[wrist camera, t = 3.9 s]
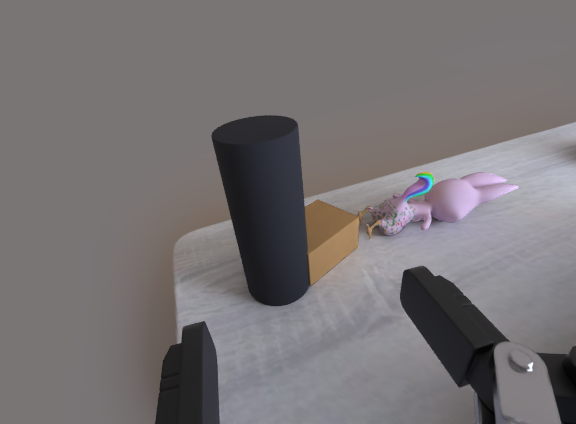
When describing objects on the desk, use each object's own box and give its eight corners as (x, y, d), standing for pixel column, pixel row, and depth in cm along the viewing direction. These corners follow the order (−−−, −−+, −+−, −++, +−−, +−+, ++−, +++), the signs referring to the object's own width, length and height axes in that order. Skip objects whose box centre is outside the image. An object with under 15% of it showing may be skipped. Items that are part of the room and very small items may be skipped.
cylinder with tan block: (276, 318, 22) (246, 151, 15) (236, 283, 25) (195, 133, 18) (360, 247, 28) (366, 101, 20) (317, 226, 31) (310, 94, 24)
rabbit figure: (377, 262, 28) (535, 214, 27) (370, 211, 24) (550, 155, 24) (354, 224, 33) (487, 183, 33) (346, 177, 30) (493, 131, 29)
